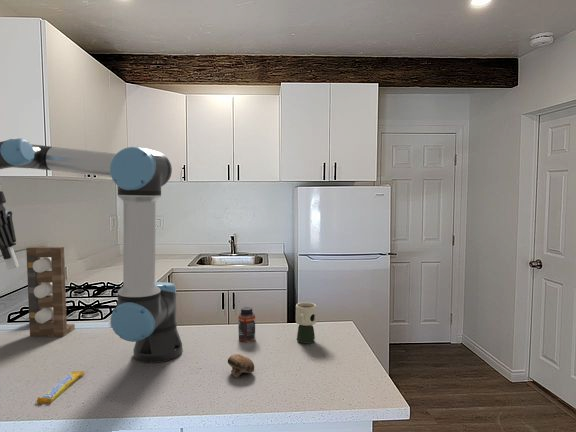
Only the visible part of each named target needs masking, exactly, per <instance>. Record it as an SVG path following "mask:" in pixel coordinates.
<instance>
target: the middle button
mask: <svg viewBox="0 0 576 432" xmlns="http://www.w3.org/2000/svg"><path fill="white" fill-rule="evenodd" d="M50 294H52V283H41V285H39V286H37V287H35V289H34V295H35V296H36V297H37V298H43V297H45V296H47V295H50Z"/></svg>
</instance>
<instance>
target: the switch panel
mask: <svg viewBox="0 0 576 432" xmlns="http://www.w3.org/2000/svg"><path fill="white" fill-rule="evenodd" d="M25 250H26V251H25V253H26V273H27V295H28V296H27V299H28V302H27V303H28V321H29V322H28V323H29V337H32V338H33V337H35V338H37V337H41V338H45V337H49V338H50V337H57V338H58V337H63V338H64V337H65V336H67V335H68V334H69V333H71V332H73V331H74V330H76V329H75V328H76V327H75V325H76V324H75V323H68V322H67V318H68V317H67V298H66V297H67V296H66V291H67V289H66V267H65V266H66V265H65V247H64V246H29V247H26V249H25ZM46 257H51V267H52V269H51V270H46V271H44V272H41V273H38V272H36V271H34V269H33V263H34V262H35V261H37V260H40V259H41V258H46ZM44 283H52V294H53V295H47V296H45V297H43V298H37V297H36V296H35V295H34V289H35V287H37V286H39V285H42V284H44ZM42 308H53V320H48V321H46V322H45V323H38V322H37V321H36V320H35V314H36V313H37V312H39V311H41V310H42Z"/></svg>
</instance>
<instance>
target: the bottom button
mask: <svg viewBox="0 0 576 432" xmlns="http://www.w3.org/2000/svg"><path fill="white" fill-rule="evenodd" d="M52 318H53V308H44V309H42V310H41V311H39V312H37V313H36V314H35V320H36V321H37V322H38V323H45V322H46V321H48V320H50V319H52Z"/></svg>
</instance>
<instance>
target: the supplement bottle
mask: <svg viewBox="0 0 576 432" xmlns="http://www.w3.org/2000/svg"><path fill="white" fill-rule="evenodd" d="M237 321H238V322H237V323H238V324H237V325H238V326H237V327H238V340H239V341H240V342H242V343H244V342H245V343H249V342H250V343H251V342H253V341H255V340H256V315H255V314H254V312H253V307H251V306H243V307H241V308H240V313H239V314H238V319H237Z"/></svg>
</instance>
